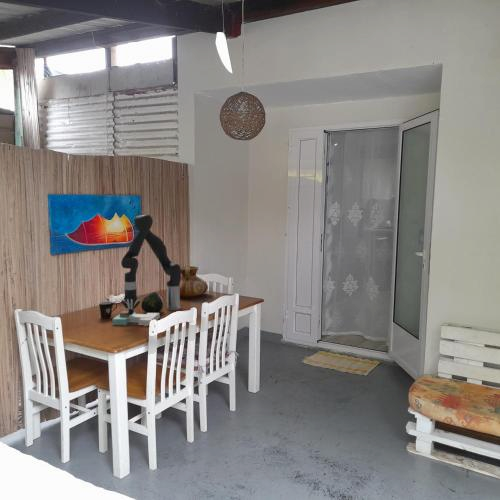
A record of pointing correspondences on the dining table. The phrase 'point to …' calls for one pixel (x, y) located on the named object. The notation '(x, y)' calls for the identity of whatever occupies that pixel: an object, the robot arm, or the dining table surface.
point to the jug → (191, 283)
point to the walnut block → (124, 314)
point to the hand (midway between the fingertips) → (131, 314)
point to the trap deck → (136, 319)
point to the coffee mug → (106, 309)
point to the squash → (152, 303)
